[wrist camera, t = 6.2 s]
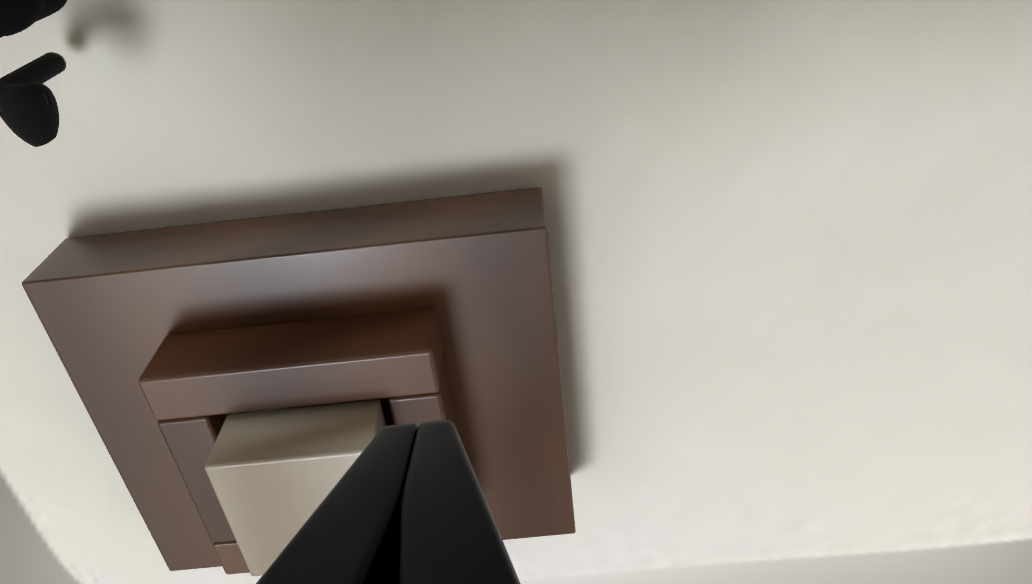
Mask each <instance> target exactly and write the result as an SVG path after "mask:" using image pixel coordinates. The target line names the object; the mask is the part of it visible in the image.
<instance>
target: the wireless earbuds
mask: <svg viewBox="0 0 1032 584" xmlns="http://www.w3.org/2000/svg"><path fill="white" fill-rule="evenodd" d="M66 1H67V0H0V38H1V37H3V36H9V35H13V34H16V33H18V32H21V31H23V30H25V29H27V28H28V27H29V26H31V25H32V24H33V23H34V22H36V21H38V20H40V19H43V18H45V17H47V16H49V15H51V14H53V13H55V12H57V11H58V10H60V9H61V8H62V7H63V6H64V5H65V3H66ZM65 68H66V62H65V60H64V58H63V57H62V56H61V55H59V54H57V53H53V52H49V53H46V54H45V55H43V56H41V57H39V58H37V59H35V60H33V61H32V62H30V63H28V64H26V65H24V66H22V67H20V68H19V69H17V70H15V71H13V72H11V73H9V74H7V75H6V76H4V77H2V78H0V117H1V118H2V119H3V120H4V122H5V123H6V124H7V125H8V127H9V128H10V129H11V130H12V131H13V132H14V133H15V134H16V135H17V136H19V137H20V138H21V139H22V140H24V141H25V142H27V143H28V144H30V145H32V146H35V147H38V146H42V145H44V144H47V143H49V142H50V141H52V140H53V139H54V138H55V137H56V136H57V132H58V127H59V111H58V106H57V102H56V99H55V97H54V95H53V93H52V91H51V90H50V89H49V88H48V87H47V86H45V85H44V84H42V83H44V82H46V81H47V80H49V79H51V78H52V77H54V76H56V75H57V74H59V73H61V72H62V71H64V70H65Z"/></svg>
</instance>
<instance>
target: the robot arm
mask: <svg viewBox="0 0 1032 584" xmlns="http://www.w3.org/2000/svg"><path fill="white" fill-rule="evenodd" d="M256 584H520V582H519V579H518V577H517V574H516V572H515V570H514V567H513V565H512V562H511V560H510V557H509V555H508V553H507V550H506V548H505V545H504V543H503V540H502V538H501V536H500V533H499V531H498V528H497V526H496V524H495V521H494V519H493V516H492V514H491V511H490V509H489V507H488V504H487V502H486V499H485V497H484V494H483V492H482V490H481V487H480V485H479V482H478V480H477V477H476V475H475V473H474V470H473V468H472V465H471V463H470V461H469V458H468V456H467V453H466V451H465V448H464V446H463V444H462V441H461V439H460V436H459V434H458V431H457V429H456V427H455V424H454V423H453V422H452V421H450V420H442V421H431V422H423V423H421V424H420V425H419V427H418V426H417V425H415V424H413V423H410V424H399V425H389V426H385V427H383V428H382V429H381V430H380V431H379V432H378V433H377V434H376V436H375V437H374V438H373V439H372V441H371V442H370V443H369V444H368V446H367V447H366V448H365V449H364V450H363V452H362V453H361V454H360V455H359V457H358V458H357V459H356V460H355V462H354V463H353V464H352V465H351V467H350V468H349V469H348V470H347V472H346V473H345V474H344V475H343V477H342V478H341V479H340V480H339V481H338V483H337V484H336V485H335V486H334V488H333V489H332V490H331V491H330V493H329V494H328V495H327V496H326V498H325V499H324V500H323V501H322V503H321V504H320V505H319V506H318V507H317V509H316V510H315V511H314V512H313V514H312V515H311V516H310V517H309V519H308V520H307V521H306V522H305V524H304V525H303V526H302V527H301V529H300V530H299V531H298V532H297V534H296V535H295V536H294V537H293V538H292V540H291V541H290V542H289V543H288V545H287V546H286V547H285V548H284V550H283V551H282V552H281V553H280V555H279V556H278V557H277V558H276V560H275V561H274V562H273V563H272V564H271V566H270V567H269V568H268V569H267V571H266V572H265V573H264V574H263V576H262V577H261V578H260V579H259V581H258V582H257V583H256Z"/></svg>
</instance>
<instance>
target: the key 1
mask: <svg viewBox="0 0 1032 584" xmlns="http://www.w3.org/2000/svg"><path fill="white" fill-rule="evenodd" d="M385 426H387V425H386V422H385V418H384V414H383V410H382V406H381V402H380V400H378V399H376V400H366V401H356V402H346V403H335V404H325V405H315V406H305V407H295V408H285V409H275V410H265V411H255V412H245V413H235V414H229V415H227V417H226V419H225V421H224V423H223V426H222V428H221V430H220V432H219V435H218V437H217V439H216V442H215V444H214V446H213V448H212V451H211V453H210V455H209V457H208V460H207V462H206V464H205V470H206V472H207V475H208V477H209V479H210V482H211V484H212V486H213V489H214V491H215V493H216V495H217V498H218V500H219V502H220V505H221V507H222V509H223V511H224V514H225V516H226V518H227V521H228V523H229V525H230V528H231V530H232V532H233V534H234V537H235V539H236V541H237V544H238V546H239V548H240V550H241V553H242V555H243V557H244V560H245V562H246V564H247V567H248V569H249V571H250V573H251V575H252V576H259V575H263V574H264V573H265V572H266V571H267V569H268V568H269V567H270V566H271V564H272V563H273V562H274V561H275V560H276V558H277V557H278V556H279V555H280V553H281V552H282V551H283V550H284V548H285V547H286V546H287V545H288V543H289V542H290V541H291V540H292V538H293V537H294V536H295V535H296V534H297V532H298V531H299V530H300V529H301V527H302V526H303V525H304V524H305V522H306V521H307V520H308V519H309V517H310V516H311V515H312V514H313V512H314V511H315V510H316V509H317V507H318V506H319V505H320V504H321V503H322V501H323V500H324V499H325V498H326V496H327V495H328V494H329V493H330V491H331V490H332V489H333V488H334V486H335V485H336V484H337V483H338V481H339V480H340V479H341V478H342V477H343V475H344V474H345V473H346V472H347V470H348V469H349V468H350V467H351V465H352V464H353V463H354V462H355V460H356V459H357V458H358V457H359V455H360V454H361V453H362V452H363V450H364V449H365V448H366V447H367V446H368V444H369V443H370V442H371V441H372V439H373V438H374V437H375V436H376V434H377V433H378V432H379V431H380V430H381V429H382V428H383V427H385Z"/></svg>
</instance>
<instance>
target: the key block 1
mask: <svg viewBox="0 0 1032 584" xmlns="http://www.w3.org/2000/svg"><path fill="white" fill-rule="evenodd" d="M22 285H23V287H24V289H25V291H26V293H27V295H28V297H29V299H30V301H31V303H32V305H33V307H34V309H35V311H36V313H37V314H38V316H39V318H40V320H41V322H42V324H43V326H44V328H45V330H46V332H47V334H48V336H49V338H50V340H51V341H52V343H53V345H54V347H55V349H56V351H57V353H58V355H59V357H60V359H61V361H62V363H63V365H64V367H65V369H66V370H67V372H68V374H69V376H70V378H71V380H72V382H73V384H74V386H75V388H76V390H77V392H78V394H79V396H80V398H81V399H82V401H83V403H84V405H85V407H86V409H87V411H88V413H89V415H90V417H91V419H92V421H93V423H94V425H95V426H96V428H97V430H98V432H99V434H100V436H101V438H102V440H103V442H104V444H105V446H106V448H107V450H108V452H109V454H110V455H111V457H112V459H113V461H114V463H115V465H116V467H117V469H118V471H119V473H120V475H121V477H122V479H123V481H124V482H125V484H126V486H127V488H128V490H129V492H130V494H131V496H132V498H133V500H134V502H135V504H136V506H137V508H138V510H139V511H140V513H141V515H142V517H143V519H144V521H145V523H146V525H147V527H148V529H149V531H150V533H151V535H152V537H153V539H154V540H155V542H156V544H157V546H158V548H159V550H160V552H161V554H162V556H163V558H164V560H165V562H166V564H167V566H168V567H169V569H170V571H175V570H186V569H196V568H207V567H218V566H223V568H224V570H225V573H226V574H237V573H248V572H250V571H249V569H248V567H247V564H246V562H245V560H244V557H243V555H242V553H241V550H240V548H239V546H238V544H237V541H236V539H235V537H234V534H233V532H232V530H231V528H230V525H229V523H228V521H227V518H226V516H225V514H224V511H223V509H222V507H221V505H220V502H219V500H218V498H217V495H216V493H215V491H214V489H213V486H212V484H211V482H210V479H209V477H208V475H207V472H206V470H205V464H206V462H207V460H208V457H209V455H210V453H211V451H212V448H213V446H214V444H215V442H216V439H217V437H218V435H219V432H220V430H221V428H222V426H223V423H224V421H225V419H226V417H227V415H229V414H235V413H245V412H255V411H265V410H275V409H285V408H295V407H305V406H315V405H325V404H335V403H346V402H356V401H366V400H376V399H378V400H380V402H381V406H382V410H383V414H384V418H385V422H386V425H387V426H389V425H399V424H410V423H413V424H415V425H417V426H418V427H419V425H420V424H421V423H423V422H431V421H442V420H450V421H452V422H453V423H454V424H455V427H456V429H457V431H458V434H459V436H460V439H461V441H462V444H463V446H464V448H465V451H466V453H467V456H468V458H469V461H470V463H471V465H472V468H473V470H474V473H475V475H476V477H477V480H478V482H479V485H480V487H481V490H482V492H483V494H484V497H485V499H486V502H487V504H488V507H489V509H490V511H491V514H492V516H493V519H494V521H495V524H496V526H497V528H498V531H499V533H500V536H501V538H502V540H506V539H517V538H528V537H539V536H549V535H560V534H571V533H575V521H574V510H573V499H572V489H571V478H570V467H569V457H568V446H567V435H566V425H565V414H564V403H563V393H562V382H561V371H560V361H559V350H558V339H557V329H556V318H555V307H554V297H553V286H552V275H551V265H550V254H549V243H548V233H547V224H546V216H545V209H544V202H543V194H542V189H541V188H530V189H521V190H512V191H502V192H493V193H484V194H475V195H465V196H456V197H447V198H438V199H428V200H419V201H410V202H400V203H391V204H382V205H373V206H363V207H354V208H345V209H336V210H326V211H317V212H308V213H299V214H289V215H280V216H271V217H261V218H252V219H243V220H234V221H224V222H215V223H206V224H197V225H187V226H178V227H169V228H160V229H150V230H141V231H132V232H122V233H113V234H104V235H95V236H85V237H76V238H67V239H65V240H64V241H63V242H62V243H61V244H60V245H59V246H58V247H57V248H56V249H55V250H54V251H53V252H52V253H51V254H50V255H49V256H48V257H47V258H46V259H45V260H44V261H43V262H42V263H41V264H40V265H39V266H38V267H37V268H36V269H35V270H34V271H33V272H32V273H31V274H30V275H29V276H28V277H27V278H26V279H25V280H24V281H23V282H22Z"/></svg>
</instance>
